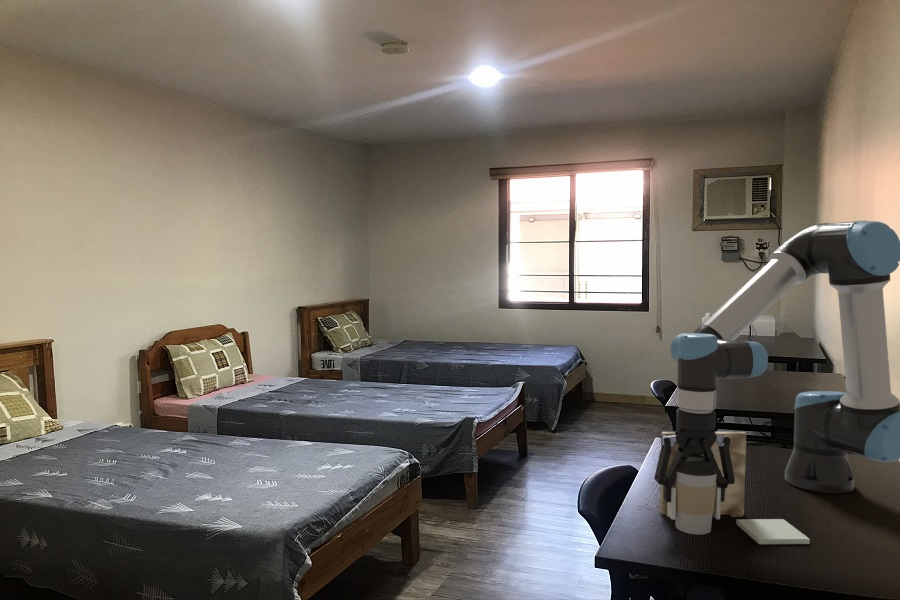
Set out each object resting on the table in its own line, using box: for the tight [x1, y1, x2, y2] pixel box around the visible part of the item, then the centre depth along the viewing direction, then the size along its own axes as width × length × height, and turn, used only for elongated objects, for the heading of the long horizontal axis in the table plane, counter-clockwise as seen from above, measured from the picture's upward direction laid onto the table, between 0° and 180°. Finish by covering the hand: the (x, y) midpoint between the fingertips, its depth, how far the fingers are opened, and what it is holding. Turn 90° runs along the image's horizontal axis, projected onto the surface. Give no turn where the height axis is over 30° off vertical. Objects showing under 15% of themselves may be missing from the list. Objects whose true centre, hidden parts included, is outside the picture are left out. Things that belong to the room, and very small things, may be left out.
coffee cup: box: [673, 454, 718, 535], centre depth 139 cm, size 9×9×15 cm
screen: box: [659, 431, 747, 518], centre depth 146 cm, size 18×4×18 cm, turn 91°
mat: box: [735, 518, 811, 545], centre depth 136 cm, size 10×10×1 cm
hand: (693, 516), depth 139 cm, fingers closed on coffee cup, 8 cm apart
